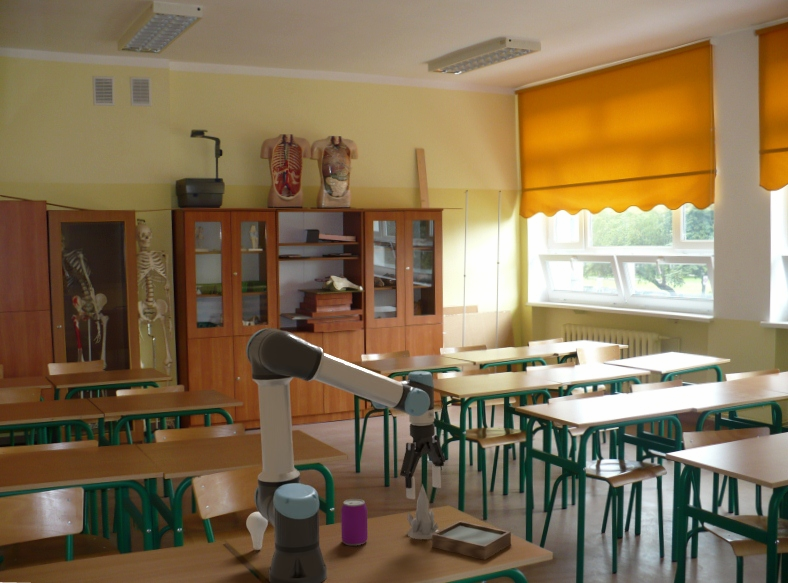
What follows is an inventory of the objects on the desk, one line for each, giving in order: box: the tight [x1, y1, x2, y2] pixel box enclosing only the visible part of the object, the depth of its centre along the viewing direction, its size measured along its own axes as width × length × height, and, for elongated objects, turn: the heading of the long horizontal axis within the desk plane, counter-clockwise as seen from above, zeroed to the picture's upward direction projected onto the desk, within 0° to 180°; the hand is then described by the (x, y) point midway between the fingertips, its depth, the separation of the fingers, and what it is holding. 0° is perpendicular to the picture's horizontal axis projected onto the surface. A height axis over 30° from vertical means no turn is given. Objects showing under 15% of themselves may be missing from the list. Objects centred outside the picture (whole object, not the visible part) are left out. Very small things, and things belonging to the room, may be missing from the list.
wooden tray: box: [431, 520, 512, 561], centre depth 229 cm, size 18×15×4 cm
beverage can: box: [340, 498, 369, 547], centre depth 233 cm, size 8×8×12 cm
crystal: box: [406, 484, 440, 540], centre depth 239 cm, size 10×13×15 cm
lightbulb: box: [245, 511, 269, 551], centre depth 228 cm, size 6×6×11 cm
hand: (424, 492), depth 239 cm, fingers open, 13 cm apart
